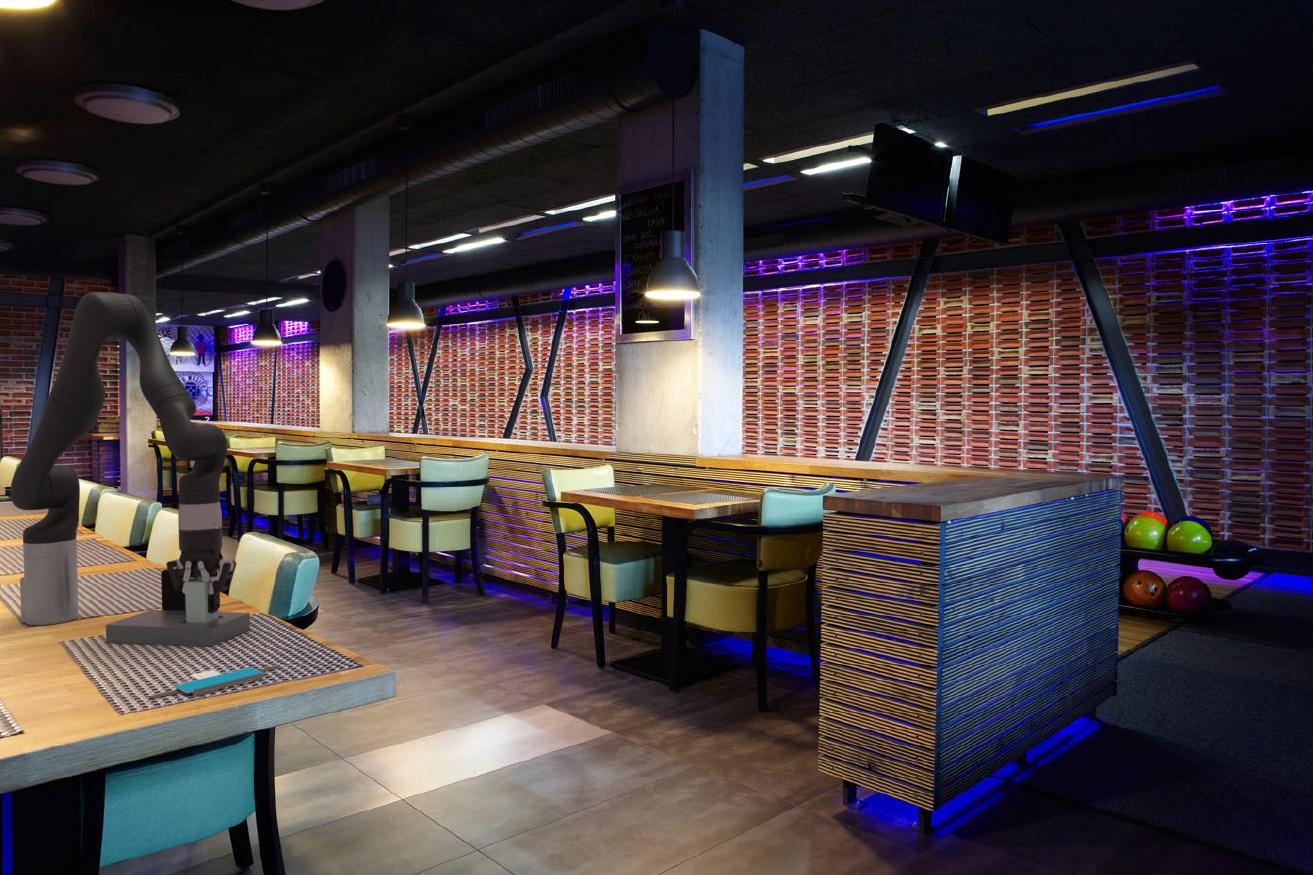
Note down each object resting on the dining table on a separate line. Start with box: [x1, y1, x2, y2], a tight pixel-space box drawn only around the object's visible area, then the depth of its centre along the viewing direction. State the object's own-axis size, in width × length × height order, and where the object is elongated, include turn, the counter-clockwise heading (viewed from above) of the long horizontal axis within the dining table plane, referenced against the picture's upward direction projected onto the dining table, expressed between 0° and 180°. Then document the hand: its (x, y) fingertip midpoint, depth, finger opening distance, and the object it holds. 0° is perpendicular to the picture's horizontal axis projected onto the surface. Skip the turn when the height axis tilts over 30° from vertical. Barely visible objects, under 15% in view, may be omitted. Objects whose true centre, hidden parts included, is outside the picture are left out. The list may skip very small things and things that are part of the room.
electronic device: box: [160, 567, 212, 611], centre depth 182 cm, size 4×10×10 cm, turn 79°
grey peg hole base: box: [105, 609, 251, 648], centre depth 164 cm, size 22×12×4 cm, turn 83°
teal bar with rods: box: [149, 665, 281, 699], centre depth 137 cm, size 20×12×2 cm, turn 140°
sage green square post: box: [185, 578, 219, 624], centre depth 163 cm, size 4×4×10 cm
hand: (202, 611), depth 163 cm, fingers closed on sage green square post, 4 cm apart
